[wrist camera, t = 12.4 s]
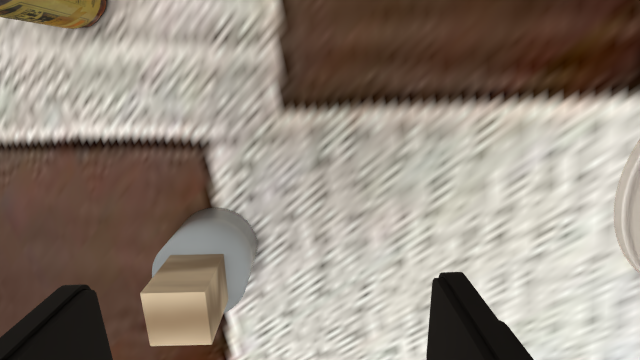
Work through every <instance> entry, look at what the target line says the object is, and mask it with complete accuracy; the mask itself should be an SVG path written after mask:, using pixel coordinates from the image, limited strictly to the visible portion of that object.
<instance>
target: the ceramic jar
mask: <svg viewBox="0 0 640 360" xmlns="http://www.w3.org/2000/svg"><path fill="white" fill-rule="evenodd" d="M256 253H257V238H256V235H255V232H254V230H253V228H252V227H251V225H250V224H249V223H248V222H247V221H246V220H245V219H244V218H243V217H242V216H240V215H239V214H237V213H235V212H233V211H230V210H227V209H223V208H207V209H203V210H200V211H198V212H196V213H194V214H193V215H191V216H190V217H189V218H188V219H187V220H186V221H185V222H184V223H183V224H182V226H181V227H180V228H179V229H178V230H177V231H176V233H175V234H174V235H173V236H172V237H171V239H170V240H169V241H168V242H167V243H166V244H165V246H164V247H163V248H162V249H161V250H160V252H159V253H158V254H157V256H156V258H155V260H154V263H153V268H152V278H153V277H154V275H155V274H156V273H157V271H158V270H159V269H160V268H161V266H162V265H163V264H164V262H165V261H166V260H167V259H168V257H169V256H170V255H196V254H224V262H225V271H226V280H227V290H228V302H227V305H226V307H225V310H224V313H225V312H227V311H229V310H230V309H232V308H233V307H234V306H235V305H236V304H237V303H238V302H239V301H240V300H241V298H242V296H243V294H244V292H245V289H246V286H247V283H248V279H249V276H250V273H251V270H252V266H253V263H254V260H255V256H256Z"/></svg>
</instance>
